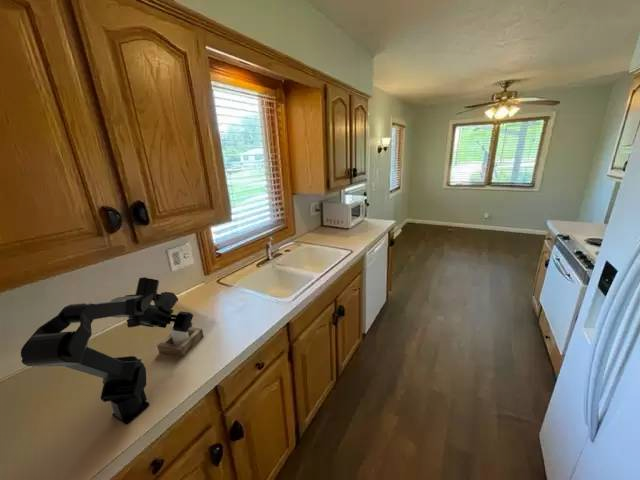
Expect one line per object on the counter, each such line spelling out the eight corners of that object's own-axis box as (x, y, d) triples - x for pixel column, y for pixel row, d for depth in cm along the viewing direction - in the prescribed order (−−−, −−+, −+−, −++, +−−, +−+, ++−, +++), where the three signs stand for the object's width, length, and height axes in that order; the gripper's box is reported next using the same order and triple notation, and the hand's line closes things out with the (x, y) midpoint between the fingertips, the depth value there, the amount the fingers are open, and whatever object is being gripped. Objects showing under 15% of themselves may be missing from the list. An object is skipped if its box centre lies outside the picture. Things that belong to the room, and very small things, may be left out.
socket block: (182, 357, 94) (180, 349, 93) (159, 353, 97) (157, 345, 95) (203, 336, 105) (202, 328, 104) (182, 333, 107) (180, 325, 106)
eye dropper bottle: (179, 350, 97) (173, 321, 93) (172, 344, 101) (165, 315, 97) (191, 343, 100) (185, 315, 97) (184, 337, 104) (178, 310, 100)
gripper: (183, 292, 87) (210, 304, 101) (136, 287, 92) (168, 299, 105) (170, 328, 82) (200, 336, 96) (121, 320, 87) (156, 329, 100)
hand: (180, 323), depth 100 cm, fingers open, 9 cm apart
